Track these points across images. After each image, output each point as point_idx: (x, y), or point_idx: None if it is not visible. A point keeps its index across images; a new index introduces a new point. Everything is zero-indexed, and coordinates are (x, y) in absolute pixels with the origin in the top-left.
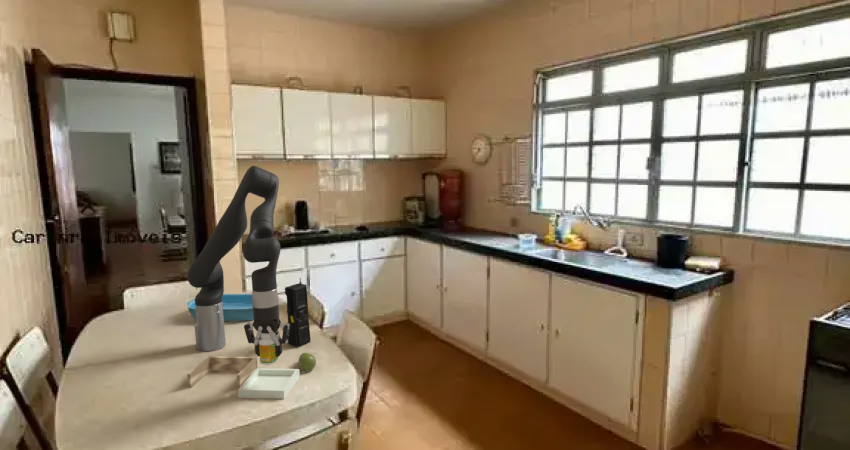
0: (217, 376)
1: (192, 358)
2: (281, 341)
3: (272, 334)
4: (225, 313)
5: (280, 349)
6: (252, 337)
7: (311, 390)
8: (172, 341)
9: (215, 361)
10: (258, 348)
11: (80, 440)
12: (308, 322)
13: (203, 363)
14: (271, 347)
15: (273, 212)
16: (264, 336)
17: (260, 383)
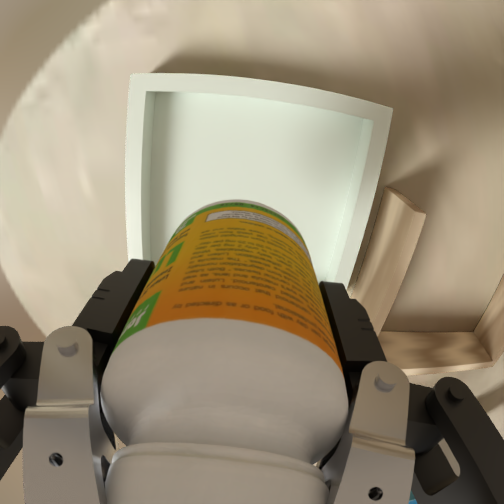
0: (463, 295)
1: (493, 377)
2: (31, 366)
3: (54, 484)
4: (411, 492)
5: (87, 303)
6: (422, 451)
7: (58, 155)
8: (499, 418)
9: (475, 352)
10: (340, 332)
11: None
12: None
13: None
14: (147, 306)
15: None
16: (229, 487)
17: (299, 210)
